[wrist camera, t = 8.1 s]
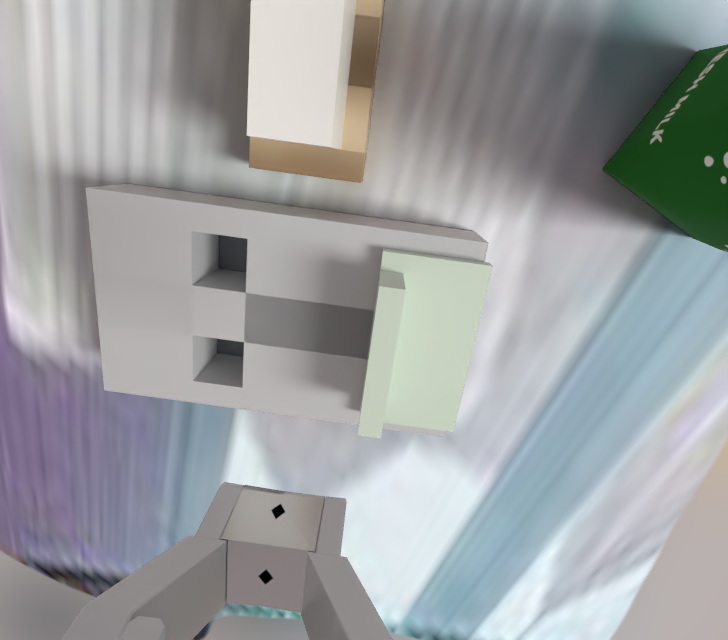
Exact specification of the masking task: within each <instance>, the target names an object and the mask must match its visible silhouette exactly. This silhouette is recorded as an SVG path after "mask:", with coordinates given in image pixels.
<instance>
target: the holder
mask: <svg viewBox="0 0 728 640" xmlns="http://www.w3.org/2000/svg"><path fill="white" fill-rule="evenodd" d="M384 4H385V0H357V2H356V11H355V21H354V31H353V41H352V50H351V60H350V70H349V80H348V89H347V99H346V109H345V119H344V128H343V138H342V148H341V150H340V149H333V148H325V147H318V146H311V145H304V144H296V143H289V142H282V141H274V140H268V139H263V138H257V137H251V136H250V150H249V168H257V169H264V170H271V171H279V172H286V173H293V174H300V175H308V176H315V177H322V178H329V179H337V180H344V181H351V182H359V183H361V182H362V181H363V176H364V168H365V160H366V152H367V143H368V135H369V127H370V119H371V111H372V102H373V94H374V86H375V78H376V70H377V61H378V53H379V45H380V37H381V28H382V20H383V12H384Z"/></svg>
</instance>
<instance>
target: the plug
mask: <svg viewBox="0 0 728 640" xmlns="http://www.w3.org/2000/svg"><path fill="white" fill-rule="evenodd" d="M356 2H357V0H251V12H250V44H249V76H248V109H247V136H251V137H257V138H263V139H268V140H274V141H282V142H289V143H296V144H304V145H311V146H318V147H325V148H333V149H340V150H341V148H342V138H343V128H344V119H345V109H346V99H347V89H348V80H349V70H350V60H351V50H352V41H353V31H354V21H355V11H356Z"/></svg>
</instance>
